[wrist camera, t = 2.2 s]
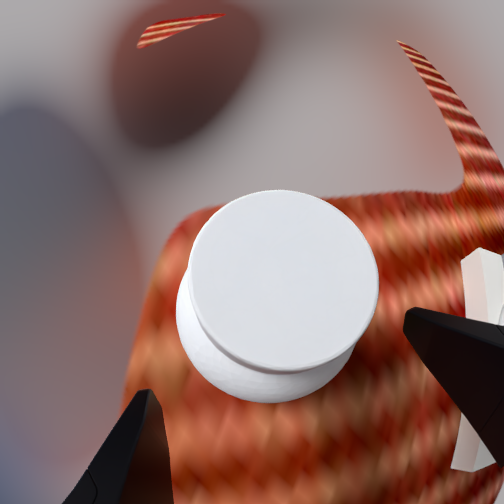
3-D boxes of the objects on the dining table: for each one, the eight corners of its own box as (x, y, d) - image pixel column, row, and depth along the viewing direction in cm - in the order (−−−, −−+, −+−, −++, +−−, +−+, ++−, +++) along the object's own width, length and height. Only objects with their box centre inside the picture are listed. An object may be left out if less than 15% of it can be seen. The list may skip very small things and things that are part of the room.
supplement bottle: (271, 279, 20) (318, 138, 8) (321, 358, 18) (451, 308, 6) (186, 323, 18) (113, 218, 7) (234, 409, 16) (234, 470, 4)
